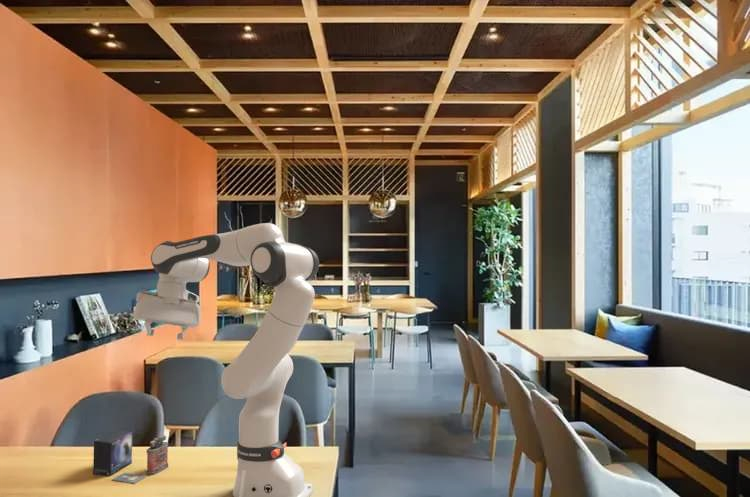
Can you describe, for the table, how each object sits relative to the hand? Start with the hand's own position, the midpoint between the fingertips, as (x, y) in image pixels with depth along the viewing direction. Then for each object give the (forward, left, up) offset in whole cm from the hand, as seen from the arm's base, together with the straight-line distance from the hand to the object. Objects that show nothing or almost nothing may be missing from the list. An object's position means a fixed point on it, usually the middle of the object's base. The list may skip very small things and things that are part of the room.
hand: (165, 337), depth 168 cm
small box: (+16, +4, -41) cm, 45 cm away
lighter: (+2, +1, -41) cm, 41 cm away
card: (+6, +9, -41) cm, 42 cm away
